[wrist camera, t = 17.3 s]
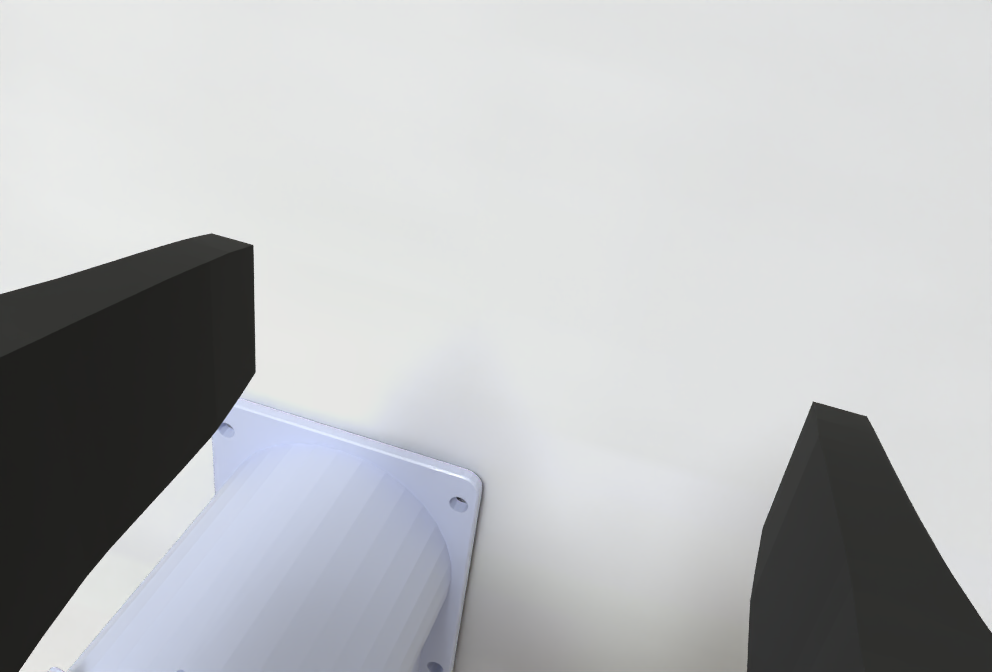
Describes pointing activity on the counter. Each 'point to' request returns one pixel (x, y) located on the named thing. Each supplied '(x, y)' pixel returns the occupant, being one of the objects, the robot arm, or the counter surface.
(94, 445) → the robot arm
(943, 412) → the counter surface
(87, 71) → the counter surface
